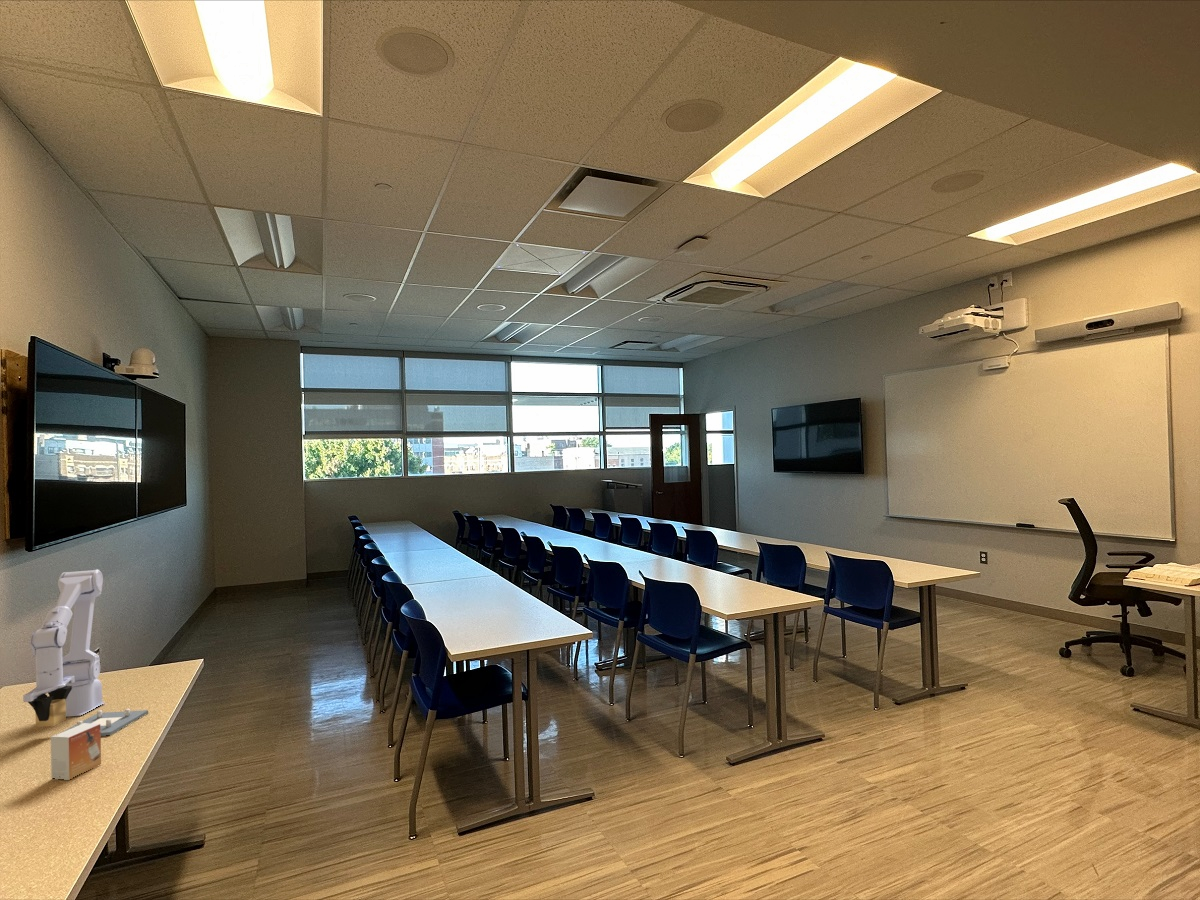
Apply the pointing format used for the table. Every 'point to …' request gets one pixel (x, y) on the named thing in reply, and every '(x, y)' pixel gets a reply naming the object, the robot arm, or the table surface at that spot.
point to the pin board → (112, 720)
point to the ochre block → (54, 713)
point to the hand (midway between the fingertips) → (50, 717)
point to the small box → (75, 751)
